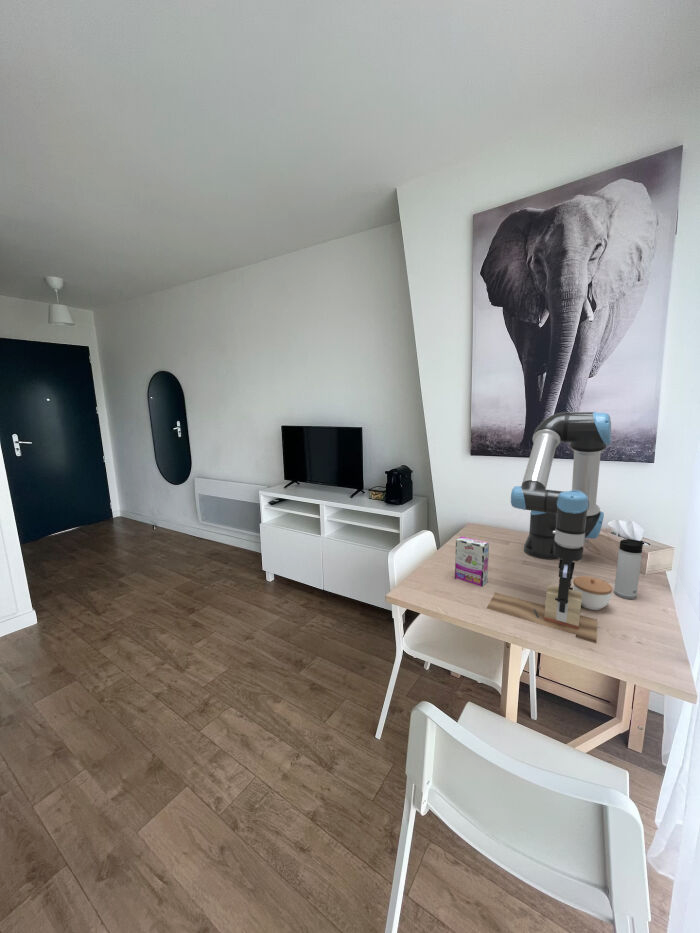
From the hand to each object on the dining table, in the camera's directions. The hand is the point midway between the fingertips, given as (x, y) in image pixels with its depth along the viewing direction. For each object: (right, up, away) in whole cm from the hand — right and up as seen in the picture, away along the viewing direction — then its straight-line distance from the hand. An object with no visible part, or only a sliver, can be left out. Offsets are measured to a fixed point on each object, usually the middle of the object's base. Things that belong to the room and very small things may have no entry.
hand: (562, 615), depth 111 cm
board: (-5, -2, +4) cm, 7 cm away
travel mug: (+31, +1, +15) cm, 35 cm away
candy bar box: (-19, +2, +27) cm, 33 cm away
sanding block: (0, -1, 0) cm, 1 cm away
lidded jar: (+15, -1, +10) cm, 18 cm away
